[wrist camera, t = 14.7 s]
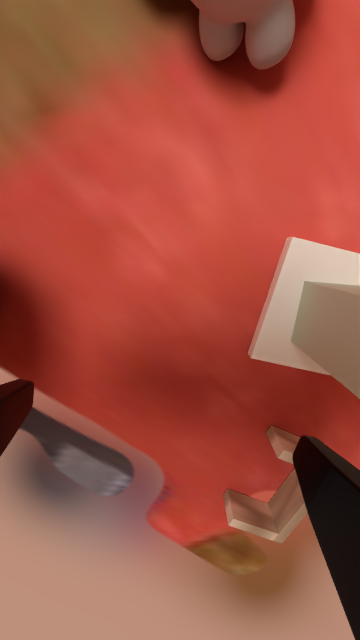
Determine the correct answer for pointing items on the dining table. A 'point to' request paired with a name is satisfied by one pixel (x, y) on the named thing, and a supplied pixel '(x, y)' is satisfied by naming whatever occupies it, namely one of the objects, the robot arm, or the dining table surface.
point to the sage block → (331, 330)
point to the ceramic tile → (298, 298)
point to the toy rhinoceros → (247, 29)
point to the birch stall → (283, 506)
